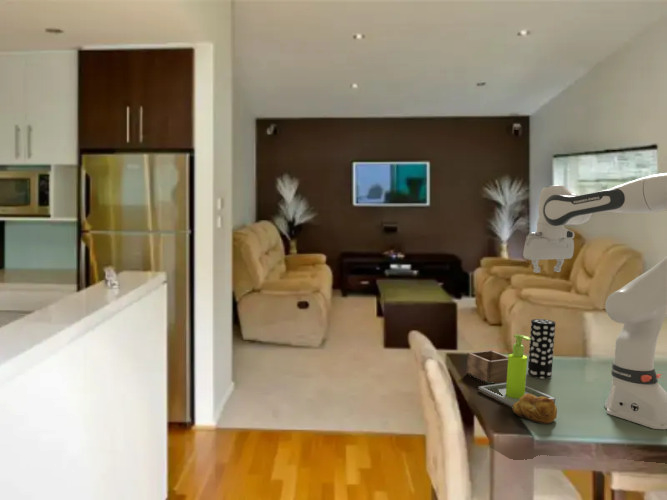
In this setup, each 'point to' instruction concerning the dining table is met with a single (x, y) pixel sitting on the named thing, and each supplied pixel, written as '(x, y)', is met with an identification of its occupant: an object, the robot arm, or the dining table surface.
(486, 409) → the dining table surface
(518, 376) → the soap dispenser
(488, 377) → the walnut box
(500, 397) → the grey tray
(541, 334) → the white-spotted black cylinder
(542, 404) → the bread roll
